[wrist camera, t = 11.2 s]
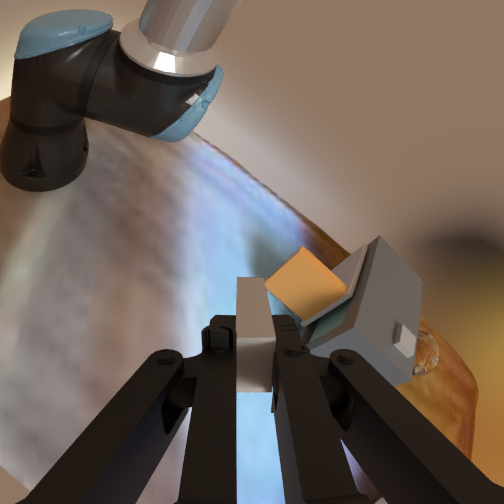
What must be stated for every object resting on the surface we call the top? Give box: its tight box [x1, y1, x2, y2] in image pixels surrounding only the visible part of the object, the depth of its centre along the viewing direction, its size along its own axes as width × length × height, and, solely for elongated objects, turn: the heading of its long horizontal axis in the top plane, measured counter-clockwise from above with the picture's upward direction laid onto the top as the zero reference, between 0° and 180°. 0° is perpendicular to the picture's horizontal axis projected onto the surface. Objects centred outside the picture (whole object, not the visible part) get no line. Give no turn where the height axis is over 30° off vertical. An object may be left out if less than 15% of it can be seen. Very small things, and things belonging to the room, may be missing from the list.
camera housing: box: [298, 236, 422, 387], centre depth 44 cm, size 11×22×15 cm, turn 148°
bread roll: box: [412, 330, 439, 377], centre depth 56 cm, size 10×10×8 cm
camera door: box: [265, 244, 368, 327], centre depth 45 cm, size 9×12×10 cm
